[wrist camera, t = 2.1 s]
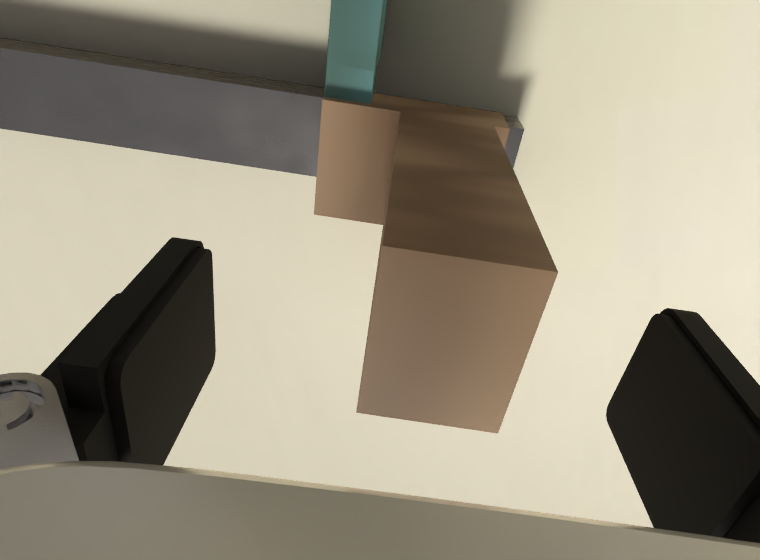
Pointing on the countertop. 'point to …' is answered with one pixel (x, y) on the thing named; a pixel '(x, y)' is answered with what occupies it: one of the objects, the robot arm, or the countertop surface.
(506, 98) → the countertop surface
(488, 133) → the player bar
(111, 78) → the rail
